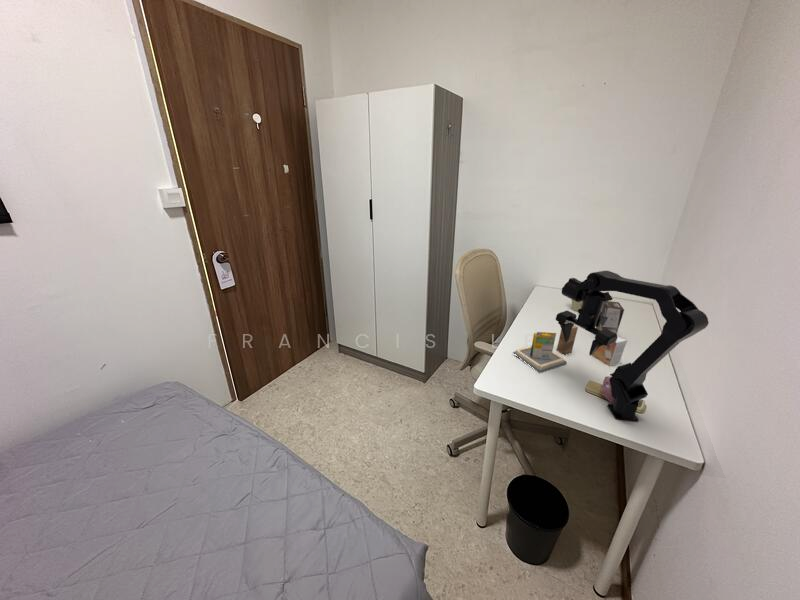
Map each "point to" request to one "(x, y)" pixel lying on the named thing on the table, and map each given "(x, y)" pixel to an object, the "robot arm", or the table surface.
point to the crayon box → (542, 345)
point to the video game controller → (607, 389)
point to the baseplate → (540, 360)
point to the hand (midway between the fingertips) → (578, 348)
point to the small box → (611, 352)
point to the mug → (576, 305)
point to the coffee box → (611, 316)
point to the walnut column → (567, 346)
